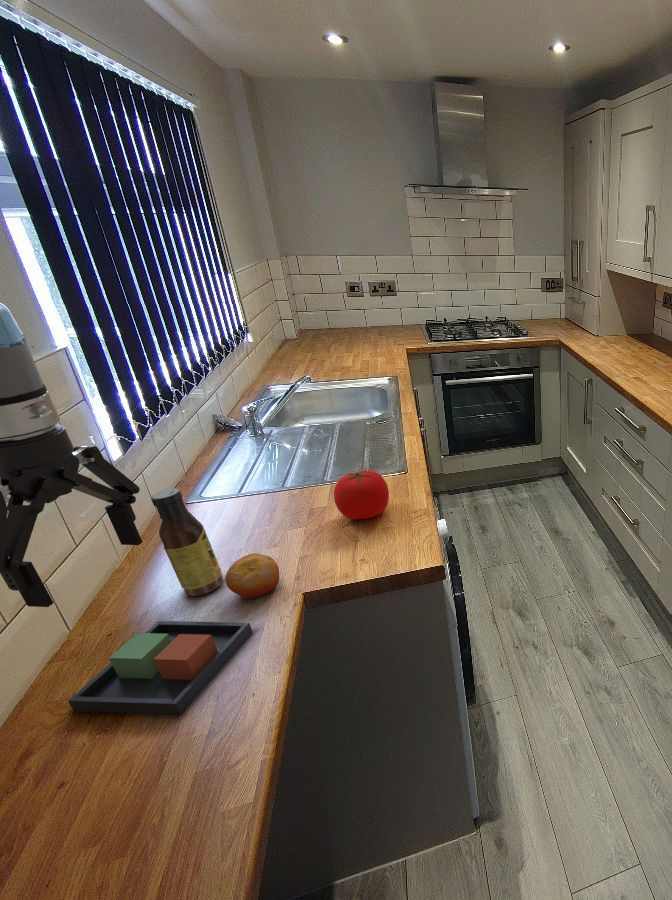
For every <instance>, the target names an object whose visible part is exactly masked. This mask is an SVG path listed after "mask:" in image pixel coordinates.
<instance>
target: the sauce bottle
mask: <svg viewBox="0 0 672 900" xmlns="http://www.w3.org/2000/svg"><path fill="white" fill-rule="evenodd" d="M150 500H151V502H152V505H153V506H154V507H155V508H156V510H157V513H158V515H159V519H161V523H160V526H159V528H158V535H159V538H160V540H161V543H162V545H163V549H164V551H165V553H166V556H167V559H168V560H169V562H170V564H171V566H172V569H173V571H174V573H175V576H176V578H177V580H178V582H179V584H180V587H181V588H182V589H183V590H184V593H185V594H186V595H187V596H191V597H197V596H202V595H206V594H208V593H211V592H212V591H214V590H217V589H219V587H221V585H222V583H223V581H224V577H223V575H222V572H223V571H222V569H221V566H220V565H219V562H218V559H217V556H216V553H215V552H214V550H213V546H212V543H211V542H210V540H209V537H208V535H207V531H206V530H205V528H204V525H203V524H202V523H201V521H199V520H198V519H197V517H195V516H194V515H193V514H192V513H191V512H190V511H189V510H188V508H187V507H186V505H185V502H184V500H183V494H182V492H181V490H180V489H179V488H176V487H175V488H173V487H172V488H168V489H167V488H166V489H161V490H159V491H157V492H155V493H153V494H152V495H151V497H150Z"/></svg>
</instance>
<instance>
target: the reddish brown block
mask: <svg viewBox="0 0 672 900" xmlns="http://www.w3.org/2000/svg"><path fill="white" fill-rule="evenodd" d="M217 653H218V651H217V648H216V646H215V643H214V641H213V639H212V636H211V635H196V634H179V635H178V636H177V637H176V638H175V639H174V640H173V641H172V642H171V643H170V644H169V645H168V646H167V647H166V648H165V649H164V650H163V651H161V652H160V653H159V654H158V655H157V656H156V657H155V658H154V659H153V660H154V662H155V664H156V666H157V668H158V670H159V672H160V674H161V676H162V678H163V679H176V680H193V679H194V678H195V677H196V676H197V675H198V674H199V672H200V671H201V670H202V669H203V668H204V667H205V666H206V665H207V664H208V663H209V662H210V661H211V659H212V658H213V657H214V656H215V655H216V654H217Z"/></svg>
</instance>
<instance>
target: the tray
mask: <svg viewBox="0 0 672 900" xmlns="http://www.w3.org/2000/svg"><path fill="white" fill-rule="evenodd" d="M144 633H154V634H169V636H170V639H171V641H173V640H174V639H175V638H176V637H177V636H178V635H179V634H196V635H211V636H212V639H213V641H214V643H215V646H216V648H217V651H218V653H217V654H216V655H215V656H214V657H213V658H212V659H211V661H210V662H209V663H208V664H207V665H206V666H205V667H204V668H203V669H202V670H201V671H200V672H199V674H198V675H197V676H196V677H195V678H194V679H193V680H176V679H163V678H162V676H161V674H160V672H158V673H157V674H156V675H155V676H154V677H153V678H152V679H143V678H119V676H118V675H117V673H116V671H115V669H114V667H113V665H112V664H111V662H110V663H108V665H107V666H106V667H104V668H103V669H102V670H101V671H99V673H98V674H96V676H94V677H93V678H91V680H89V682H88V683H86V684H85V685H84V686H83V687H82V688H81V689H79V690H78V691H77V692H76V693H75V694H73V695H72V697H70V698H69V699H67V702H68V704H69V706H70V707H71V709H72V711H73V712H77V713H78V712H80V713H81V712H82V713H110V714H111V713H115V714H144V715H145V714H149V715H150V714H152V715H178V716H179V715H182V714H183V713H184V712H185V711H186V709H187V708H188V707H189V706H190V705H191V704H192V703H193V701H194V700H195V699H196V698H197V697H198V696H199V695H200V694H201V692H203V690H204V689H205V688H206V687H207V686H208V684H209V683H210V682H212V680H213V679H214V678H215V676H217V674H218V673H219V672H220V671H221V670H222V669H223V667H225V665H226V664H227V663H228V662H229V661H230V659H231V658H233V656H234V655H235V654H236V653H237V652H238V651H239V649H240V648H241V647H242V646H243V645H244V643H245V642H246V641H247V640H248V639H249V638H250V637H251V636H252V634H253V633H254V631H253V629H252V626H251V623H250V622H229V621H225V622H224V621H185V620H182V621H181V620H180V621H179V620H177V621H175V620H158V621H156V622H155V623H154V624H153V625H152V626H150V628H149V629H148V630H146V631H145V632H144Z"/></svg>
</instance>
